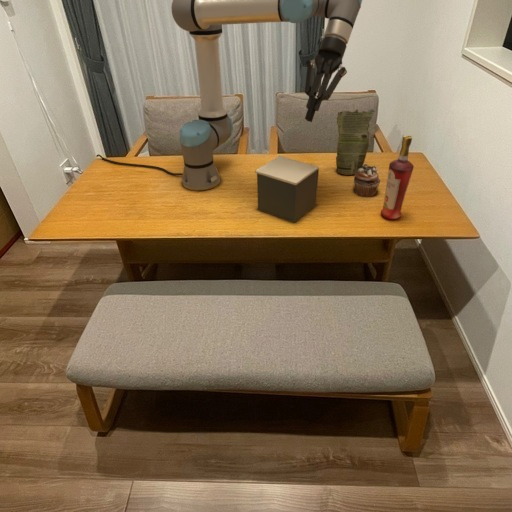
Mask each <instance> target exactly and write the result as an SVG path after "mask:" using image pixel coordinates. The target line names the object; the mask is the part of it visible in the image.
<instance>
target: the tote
mask: <svg viewBox="0 0 512 512" xmlns="http://www.w3.org/2000/svg"><path fill="white" fill-rule="evenodd" d="M319 171H320V168H319V169H318V170H316V171H315V172H314V173H312V174H311V175H309V176H308V177H307V178H305V179H304V180H303V181H301V182H300V183H298V184H297V185H293V184H290V183H287V182H283V181H280V180H277V179H274V178H271V177H267V176H264V175H261V174H258V173H256V188H257V189H256V190H257V210H258V211H261V212H264V213H266V214H268V215H272V216H274V217H277V218H280V219H282V220H285V221H288V222H290V223H293V224H295V223H296V222H298V221H299V220H300V219H301V218H302V217H304V215H306V214H307V213H308V212H309V211H311V210H312V209H313V208H314V207H315V206H317V197H318V186H319V185H318V184H319Z"/></svg>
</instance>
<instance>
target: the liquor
mask: <svg viewBox="0 0 512 512" xmlns="http://www.w3.org/2000/svg"><path fill="white" fill-rule="evenodd" d="M412 140H413V136H411V135H403V136H402V139H401V148H400V151H399V153H398V157H397V159H394V160H392V161H390V162H389V165H388V171H387V178H386V185H385V191H384V192H385V193H384V199H383V205H382V208H381V210H380V214H381V215H382V216H383V217H384V218H385V219H388V220H396V219H398V218H400V217H401V216H402V214H403V213H402V208H403V204H404V201H405V197H406V194H407V190H408V188H409V184H410V181H411V178H412V174H413V171H414V168H415V167H414V166H415V165H414V164H413V163H412V162H411V161H409V153H410V146H411V144H412Z"/></svg>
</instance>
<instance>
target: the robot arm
mask: <svg viewBox="0 0 512 512" xmlns="http://www.w3.org/2000/svg"><path fill="white" fill-rule="evenodd" d="M362 3H363V0H172V2H171V15H172V18H173V21H174V22H175V24H176V25H177V26H178V27H179V28H181V30H184V31H186V32H188V33H189V36H190V37H192V39H193V42H194V48H195V49H194V50H195V60H196V70H197V80H198V88H199V98H200V107H201V108H200V109H199V110H198V112H197V116H198V119H194V120H192V121H191V120H189V121H187V122H185V123H184V124H183V125H181V127H180V129H179V141H180V146H181V152H182V153H181V154H182V160H183V171H182V172H181V173H180V172H179V173H177V172H175V173H174V172H171V171H169V170H168V169H166V168H163V167H160V166H156V165H150V164H149V165H148V164H140V163H128V162H119V161H115V160H111V159H108V158H105V157H103V155H101V154H96V158H98V157H99V158H101V159H102V160H103V161H106V162H110V163H113V164H118V165H123V166H124V165H125V166H134V167H145V168H152V169H158V170H162V171H164V172H166V173H167V174H169V175H172V176H182V177H181V182H182V183H181V184H182V186H183V188H185V189H187V190H188V191H189V190H190V191H195V192H201V191H202V192H203V191H208V190H212V189H214V188H216V187H217V186H219V184H220V182H221V176H220V173H219V171H218V169H217V167H216V165H215V161H214V151H215V150H216V149H218V148H219V147H220V146H222V144H225V143H226V142H227V141H228V140H229V139H230V138H231V137H232V134H233V132H234V123H233V120H232V118H231V117H230V115H229V114H228V109H226V108H225V106H224V98H223V82H222V69H221V54H220V40H219V39H220V37H221V36H222V35H223V26H225V25H244V24H263V23H265V24H266V23H283V22H284V23H291V24H301V23H304V22H305V21H306V20H309V19H311V18H313V17H318V18H324V19H328V21H327V25H326V28H325V31H324V34H323V38H322V40H321V43H320V45H319V48H318V52H317V53H316V55H315V57H314V59H312V60H309V59H307V60H306V62H305V64H306V68H307V69H306V77H305V84H304V85H305V86H304V94H305V95H306V96H308V100H307V102H306V105H305V106H306V107H305V108H306V109H307V111H306V114H305V118H304V119H305V120H306V121H307V122H309V123H312V122H313V119H314V116H315V114H316V112H319V110H320V109H321V105H322V102H323V101H329V100H330V98H331V97H332V95H333V93H334V91H336V88H337V86H338V85H339V84H340V82H341V80H342V78H344V76H345V75H346V74H348V70H347V68H346V67H345V66H343V59H344V55H345V53H346V49H347V44H348V43H349V41H350V38H351V35H352V32H353V29H354V26H355V23H356V21H357V18H358V15H359V12H360V10H361V8H362ZM315 67H316V71H315V72H316V73H315V77H314V68H315ZM335 72H336V73H335ZM334 73H335V75H334V77H333V78H332V76H333V74H334ZM313 78H314V80H313ZM331 79H332V80H331ZM330 80H331V82H330Z"/></svg>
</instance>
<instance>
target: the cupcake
mask: <svg viewBox="0 0 512 512" xmlns="http://www.w3.org/2000/svg"><path fill="white" fill-rule="evenodd" d="M378 170H379V169H378V168H377V167H376V166H375V165H374V166H371V165H368V164H367V163H364V164H363V167H361V168H360V169H358V171H357V172H356V173H355V174H354V177H353V186H354V193H355V194H357V195H358V196H361V197H372V196H374V195H376V193H377V190H378V187H379V185H380V182H381V180H380V177H379V176H380V175H379V173H378Z"/></svg>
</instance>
